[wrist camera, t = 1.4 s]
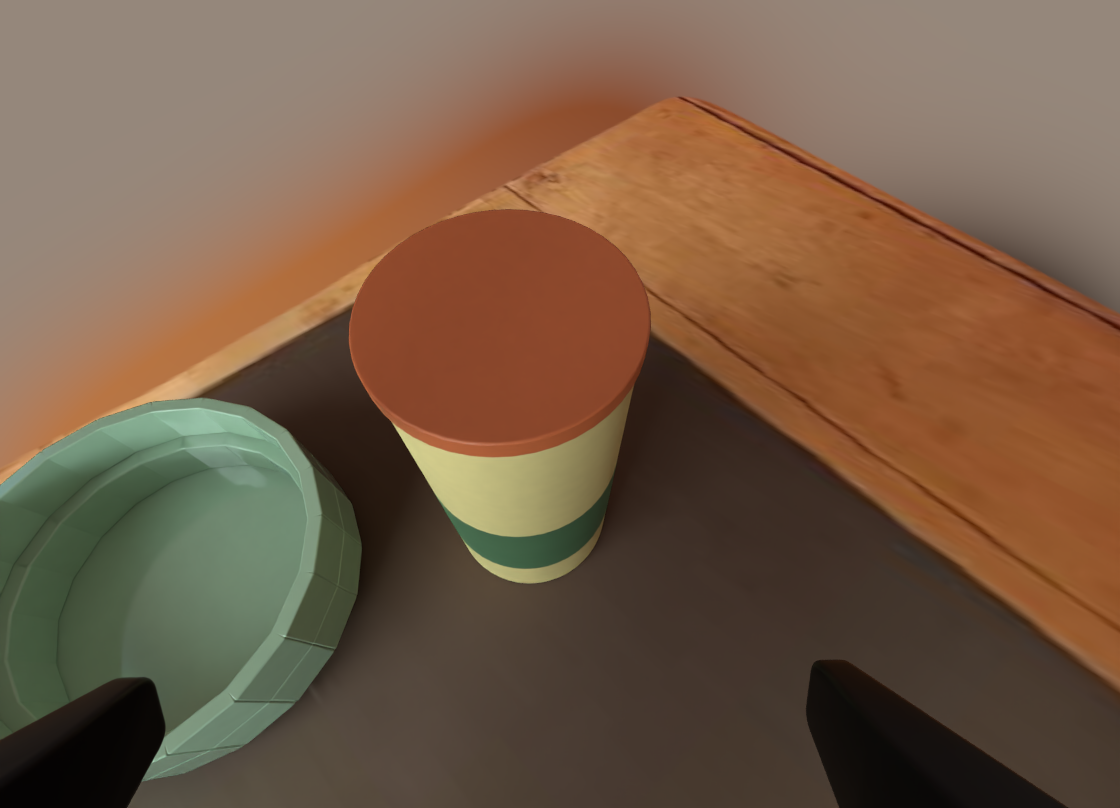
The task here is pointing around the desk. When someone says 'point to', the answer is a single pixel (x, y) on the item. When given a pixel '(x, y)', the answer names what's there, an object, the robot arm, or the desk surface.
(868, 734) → the robot arm
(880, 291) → the desk surface
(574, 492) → the snack canister
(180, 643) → the bowl
